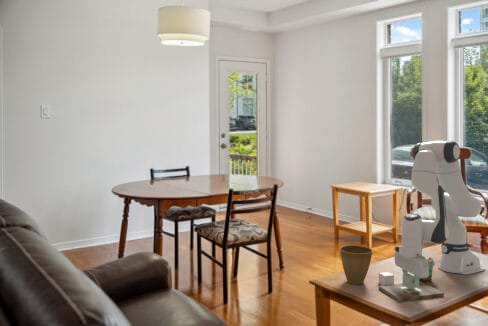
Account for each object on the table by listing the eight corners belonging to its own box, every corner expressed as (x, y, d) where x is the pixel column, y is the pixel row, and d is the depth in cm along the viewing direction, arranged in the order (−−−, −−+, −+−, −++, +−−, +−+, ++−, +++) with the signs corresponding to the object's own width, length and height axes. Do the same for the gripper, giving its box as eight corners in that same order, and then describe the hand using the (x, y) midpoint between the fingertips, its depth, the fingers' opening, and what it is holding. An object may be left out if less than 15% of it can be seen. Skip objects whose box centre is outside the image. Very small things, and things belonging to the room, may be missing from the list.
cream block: (387, 282, 225) (388, 271, 224) (394, 285, 220) (394, 275, 220) (378, 283, 224) (378, 272, 223) (384, 286, 219) (384, 276, 218)
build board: (420, 284, 221) (420, 280, 221) (443, 296, 206) (443, 292, 206) (378, 289, 215) (379, 285, 215) (399, 302, 200) (399, 298, 200)
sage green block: (412, 283, 213) (412, 273, 213) (419, 287, 209) (419, 276, 208) (402, 285, 212) (402, 274, 212) (409, 288, 207) (409, 277, 207)
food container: (421, 285, 220) (421, 264, 219) (411, 281, 225) (411, 260, 224) (439, 280, 226) (440, 260, 225) (429, 277, 231) (429, 257, 230)
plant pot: (356, 289, 215) (356, 255, 214) (333, 280, 228) (333, 247, 226) (378, 283, 223) (379, 250, 222) (355, 274, 236) (356, 243, 234)
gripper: (433, 256, 200) (432, 288, 201) (404, 244, 219) (403, 273, 221) (420, 258, 198) (419, 290, 199) (392, 246, 218) (391, 275, 219)
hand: (410, 281), depth 210 cm, fingers closed on sage green block, 5 cm apart
